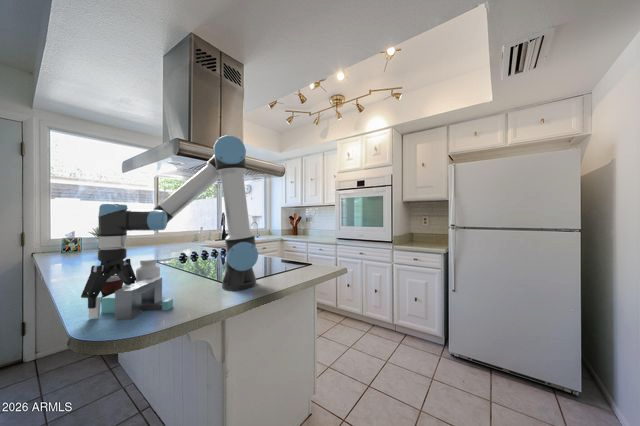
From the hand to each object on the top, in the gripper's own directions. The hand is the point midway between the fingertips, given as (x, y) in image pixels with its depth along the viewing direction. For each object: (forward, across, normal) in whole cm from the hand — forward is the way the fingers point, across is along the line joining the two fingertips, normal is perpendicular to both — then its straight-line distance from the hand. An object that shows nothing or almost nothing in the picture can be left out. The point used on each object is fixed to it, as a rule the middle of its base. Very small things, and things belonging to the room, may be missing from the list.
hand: (111, 309), depth 83 cm
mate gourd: (0, -15, -12) cm, 19 cm away
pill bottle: (0, -14, +3) cm, 14 cm away
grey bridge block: (0, 0, +10) cm, 10 cm away
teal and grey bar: (0, 0, +9) cm, 9 cm away
